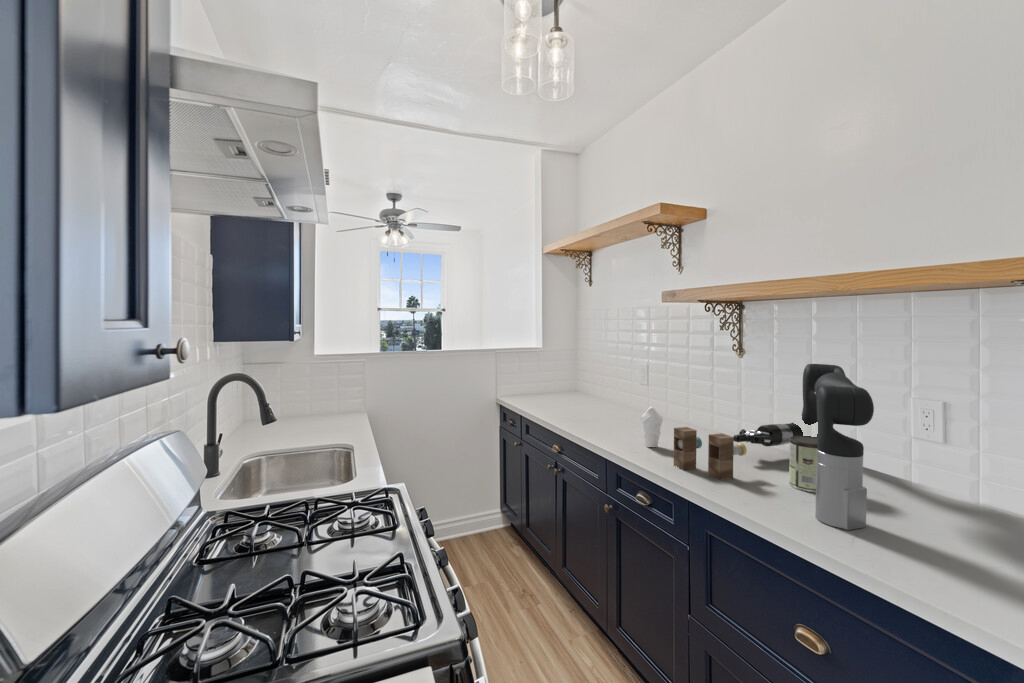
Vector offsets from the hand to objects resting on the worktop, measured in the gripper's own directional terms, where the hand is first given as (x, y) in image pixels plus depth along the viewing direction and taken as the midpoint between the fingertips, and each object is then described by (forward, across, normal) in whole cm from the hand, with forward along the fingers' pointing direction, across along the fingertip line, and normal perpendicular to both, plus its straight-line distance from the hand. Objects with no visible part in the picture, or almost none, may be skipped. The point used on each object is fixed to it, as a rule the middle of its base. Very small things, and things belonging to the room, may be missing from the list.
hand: (735, 438), depth 158 cm
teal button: (+19, 0, +2) cm, 19 cm away
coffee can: (-3, +26, +8) cm, 27 cm away
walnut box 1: (+20, 0, +8) cm, 22 cm away
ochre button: (+11, +11, +2) cm, 15 cm away
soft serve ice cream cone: (+17, -25, +8) cm, 31 cm away
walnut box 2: (+16, +11, +8) cm, 21 cm away
